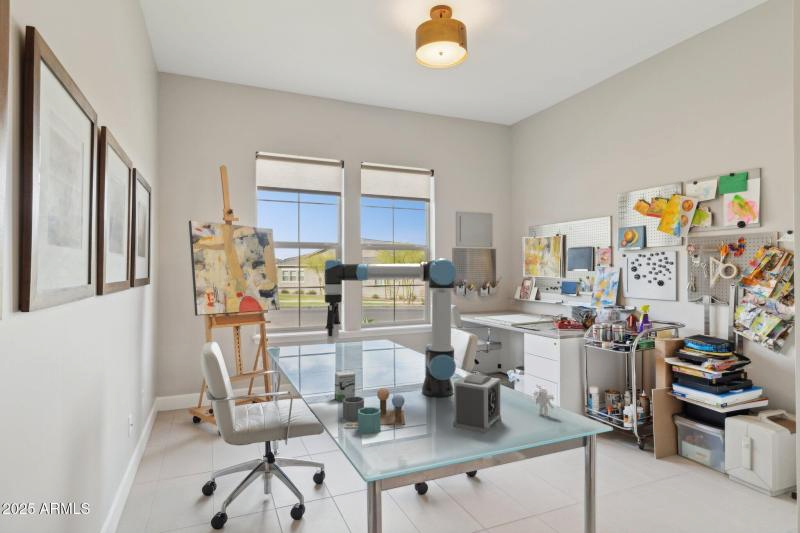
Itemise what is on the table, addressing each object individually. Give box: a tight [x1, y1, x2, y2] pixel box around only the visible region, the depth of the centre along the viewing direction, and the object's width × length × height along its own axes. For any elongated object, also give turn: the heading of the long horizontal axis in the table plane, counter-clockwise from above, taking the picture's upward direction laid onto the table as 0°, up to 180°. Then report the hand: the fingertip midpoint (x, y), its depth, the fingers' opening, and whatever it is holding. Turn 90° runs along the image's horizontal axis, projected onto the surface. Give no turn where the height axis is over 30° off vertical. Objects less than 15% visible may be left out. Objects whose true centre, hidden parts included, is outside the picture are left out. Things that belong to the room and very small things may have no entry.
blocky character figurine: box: [533, 384, 555, 417], centre depth 175 cm, size 9×4×12 cm, turn 37°
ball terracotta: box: [376, 387, 390, 401], centre depth 176 cm, size 5×5×5 cm
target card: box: [343, 422, 358, 429], centre depth 163 cm, size 7×5×1 cm
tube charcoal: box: [342, 396, 365, 422], centre depth 173 cm, size 8×8×7 cm
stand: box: [379, 399, 406, 426], centre depth 172 cm, size 11×16×6 cm
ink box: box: [334, 371, 356, 402], centre depth 198 cm, size 9×5×12 cm, turn 117°
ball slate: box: [391, 393, 406, 408], centre depth 167 cm, size 5×5×5 cm
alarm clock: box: [452, 373, 502, 434], centre depth 166 cm, size 18×13×18 cm
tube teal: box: [357, 406, 382, 435], centre depth 159 cm, size 8×8×7 cm
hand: (333, 340), depth 192 cm, fingers open, 13 cm apart
